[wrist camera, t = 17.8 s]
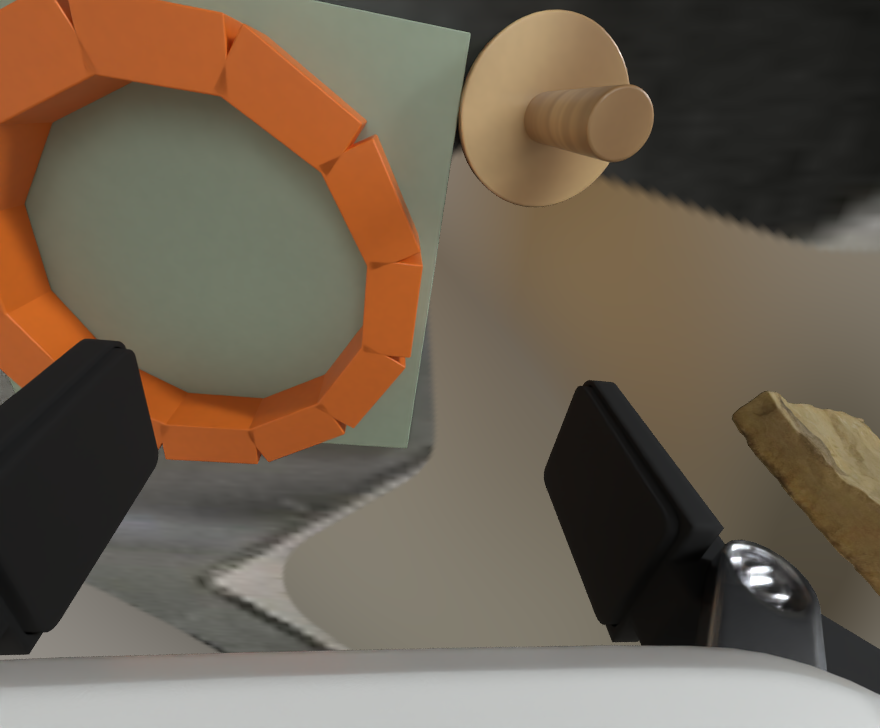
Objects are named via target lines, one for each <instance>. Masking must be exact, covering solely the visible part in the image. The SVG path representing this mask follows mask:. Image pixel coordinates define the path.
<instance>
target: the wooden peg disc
mask: <svg viewBox="0 0 880 728" xmlns="http://www.w3.org/2000/svg"><path fill="white" fill-rule="evenodd" d="M653 120H654V111H653V105H652V102H651V100H650V98H649V96H648V95H647V93H646V92H645V91H644V90H642V89H641V88H640V87H637V86H635V85H630V84H629V79H628V73H627V69H626V66H625V63H624V60H623V57H622V55H621V53H620V51H619V49H618V47H617V45H616V44H615V42H614V41H613V39H612V38H611V36H610V35H609V34H608V33H607V32H606V31H605V30H604V29H603V28H602V27H601V26H600V25H598V24H597V23H596V22H595V21H593V20H592V19H590V18H588V17H586V16H584V15H582V14H579V13H575V12H572V11H567V10H545V11H540V12H535V13H532V14H530V15H527V16H524V17H522V18H520V19H518V20H517V21H515V22H513V23H511V24H510V25H509V26H507V27H506V28H504V29H503V30H502V31H500V32H499V33H498V34H497V35H495V36H494V37H493V38H492V39H491V40H490V41H489V42H488V43H487V44H486V45H485V47H484V48H483V49H482V51H481V52H480V53H479V54H478V56H477V58H476V59H475V61H474V63H473V64H472V66H471V68H470V70H469V72H468V74H467V77H466V79H465V82H464V85H463V88H462V93H461V100H460V107H459V113H458V130H459V138H460V142H461V146H462V150H463V153H464V155H465V158H466V161H467V163H468V164H469V166H470V168H471V170H472V171H473V173H474V174H475V175H476V177H477V178H478V179H479V180H480V181H481V182H482V184H483V185H484V186H486V188H488V189H489V190H490V191H491V192H492V193H494V194H496V196H498V197H500V198H502V199H503V200H505V201H508V202H510V203H513V204H516V205H520V206H526V207H544V206H549V205H554V204H557V203H560V202H563V201H565V200H568V199H570V198H572V197H574V196H575V195H577V194H578V193H580V192H582V191H583V190H584V189H585V188H587V187H588V186H589V185H590V184H592V183H593V182H594V181H595V180H596V179H597V178H598V177H599V176H600V175H601V173H602V172H603V171H604V170H605V168H606V167H607V166H608V164H609V163H610V162H619V161H623V160H625V159H627V158H629V157H631V156H632V155H634V154H635V153H636V152H637V151H638V150H639V149H640V148H641V147H642V146H643V145H644V143H645V142H646V140H647V139H648V137H649V135H650V132H651V129H652V126H653Z"/></svg>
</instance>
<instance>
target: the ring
mask: <svg viewBox="0 0 880 728" xmlns="http://www.w3.org/2000/svg"><path fill="white" fill-rule="evenodd" d="M131 82H137V83H143V84H148V85H154V86H160V87H166V88H172V89H178V90H184V91H190V92H196V93H202V94H208V95H214V96H220V97H222V98H223V99H224V100H226V101H227V102H228V103H230V104H231V105H232V106H234V107H235V108H236V109H237V110H239V111H240V112H241V113H243V114H244V115H245V116H247V117H248V118H249V119H251V120H252V121H253V122H255V123H256V124H257V125H259V126H260V127H261V128H262V129H264V130H265V131H266V132H268V133H269V134H270V135H272V136H273V137H274V138H276V139H277V140H278V141H280V142H281V143H282V144H284V145H285V146H286V147H287V148H289V149H290V150H291V151H293V152H294V153H295V154H297V155H298V156H299V157H301V158H302V159H303V160H305V161H306V162H307V163H309V164H310V165H311V166H312V167H314V168H315V169H316V170H318V171H319V172H320V173H321V174H322V176H323V178H324V180H325V182H326V184H327V186H328V188H329V190H330V192H331V194H332V196H333V198H334V200H335V202H336V204H337V206H338V208H339V211H340V213H341V215H342V217H343V219H344V221H345V223H346V225H347V227H348V229H349V231H350V233H351V235H352V237H353V239H354V241H355V243H356V245H357V247H358V249H359V251H360V253H361V255H362V257H363V259H364V261H365V263H366V265H367V272H366V286H365V300H364V314H363V326H362V327H361V328H360V330H359V331H358V332H357V333H356V335H355V336H354V337H353V339H352V340H351V341H350V343H349V344H348V345H347V346H346V348H345V349H344V350H343V352H342V353H341V354H340V356H339V357H338V358H337V359H336V361H335V362H334V363H333V365H332V366H331V367H330V369H329V370H328V371H327V372H326V374H325V375H322V376H320V377H317V378H315V379H312V380H310V381H307V382H304V383H302V384H299V385H297V386H294V387H292V388H289V389H286V390H284V391H281V392H279V393H276V394H274V395H271V396H268V397H266V398H252V397H239V396H225V395H212V394H198V393H188V392H186V391H184V390H181V389H179V388H177V387H175V386H173V385H171V384H169V383H167V382H165V381H163V380H161V379H159V378H157V377H155V376H152V375H150V374H148V373H146V372H144V371H142V370H140V369H139V372H140V376H141V381H142V385H143V389H144V393H145V397H146V401H147V406H148V410H149V414H150V418H151V422H152V426H153V431H154V435H155V439H156V443H157V447H158V450H159V449H160V447H161V446H162V444H163V448H164V453H165V457H166V459H170V460H189V461H208V462H227V463H246V464H258V462H259V459H260V457H261V454H262V455H263V456H264V457H265V459H266V460H267V461H268V462H271V461H273V460H276V459H279V458H281V457H284V456H287V455H290V454H292V453H295V452H298V451H300V450H303V449H306V448H309V447H311V446H314V445H317V444H319V443H322V442H325V441H328V440H330V439H333V438H336V437H338V436H341V435H344V434H345V430H346V425H348V426H350V427H351V428H355V426H356V425H357V424H358V423H359V422H360V421H361V419H362V418H363V417H364V416H365V415H366V414H367V412H368V411H369V410H370V409H371V408H372V407H373V405H374V404H375V403H376V402H377V401H378V400H379V398H380V397H381V396H382V395H383V394H384V393H385V391H386V390H387V389H388V388H389V387H390V386H391V384H392V383H393V382H394V381H395V380H396V379H397V377H398V376H399V375H400V374H401V373H402V372H403V370H404V369H405V368H406V363H405V357H406V358H410V357H411V351H412V343H413V336H414V329H415V321H416V314H417V307H418V299H419V292H420V285H421V277H422V270H423V264H422V257H421V249H420V243H419V236H418V232H417V230H416V227H415V225H414V223H413V220H412V218H411V215H410V213H409V211H408V208H407V206H406V203H405V201H404V198H403V196H402V194H401V191H400V189H399V186H398V184H397V182H396V179H395V177H394V174H393V172H392V169H391V167H390V165H389V162H388V160H387V157H386V155H385V153H384V150H383V148H382V145H381V143H380V140H379V138H378V136H377V135H376V134H374V135H372V136H370V137H368V138H366V139H363V140H361V141H359V142H357V143H355V144H354V142H355V141H356V139H357V137H358V136H359V134H360V133H361V131H362V129H363V128H364V126H365V125H366V123H367V120H366V119H365V118H363V117H362V116H361V115H360V114H359V113H358V112H356V111H355V110H354V109H353V108H352V107H350V106H349V105H348V104H347V103H346V102H345V101H343V100H342V99H341V98H340V97H339V96H338V95H336V94H335V93H334V92H333V91H332V90H330V89H329V88H328V87H327V86H326V85H325V84H323V83H322V82H321V81H320V80H319V79H318V78H316V77H315V76H314V75H313V74H312V73H310V72H309V71H308V70H307V69H306V68H305V67H303V66H302V65H301V64H300V63H299V62H298V61H296V60H295V59H294V58H293V57H292V56H290V55H289V54H288V53H287V52H286V51H285V50H283V49H282V48H281V47H280V46H279V45H277V44H276V43H275V42H274V41H273V40H272V39H270V38H269V37H268V36H267V35H265V34H263V33H261V32H259V31H258V30H256V29H254V28H252V27H250V26H248V25H246V24H244V23H241V22H240V21H238V20H236V19H234V18H232V17H230V16H228V15H226V14H224V13H222V12H218V11H213V10H207V9H202V8H197V7H192V6H187V5H182V4H177V3H172V2H166V1H161V0H16V1H14V2H12V3H10V4H9V5H7V6H5V7H3V8H1V9H0V369H1V370H2V371H3V372H4V373H5V374H7V375H8V376H9V377H10V378H11V379H12V380H13V381H14V382H15V383H17V384H18V385H19V386H20V387H21V388H23V387H24V386H25V385H26V384H28V383H29V382H30V381H31V380H32V379H34V378H35V377H36V376H37V375H39V374H40V373H41V372H42V371H44V370H45V369H46V368H47V367H48V366H50V365H51V364H52V363H53V362H55V361H56V360H57V359H58V358H60V357H61V356H62V355H63V354H64V353H66V352H67V351H68V350H69V349H71V348H72V347H73V346H74V345H76V344H77V343H78V342H79V341H81V340H83V339H96V338H95V337H94V335H93V334H92V333H91V332H90V331H89V330H88V329H87V328H86V327H85V326H84V325H83V324H82V323H81V321H80V320H79V319H78V318H77V317H76V316H75V315H74V314H73V313H72V312H71V311H70V310H69V309H68V307H67V306H66V305H65V304H64V303H63V302H62V301H61V300H60V299H59V298H58V297H57V296H56V295H55V293H54V292H53V291H52V290H51V288H50V285H49V282H48V278H47V275H46V272H45V269H44V265H43V262H42V259H41V256H40V252H39V249H38V246H37V243H36V239H35V236H34V233H33V230H32V226H31V223H30V220H29V217H28V213H27V210H26V207H25V201H26V198H27V195H28V192H29V189H30V186H31V184H32V181H33V178H34V175H35V172H36V169H37V166H38V163H39V160H40V157H41V155H42V152H43V149H44V146H45V143H46V140H47V137H48V134H49V131H50V129H51V126H52V123H53V122H55V121H57V120H58V119H60V118H62V117H64V116H66V115H68V114H70V113H72V112H74V111H76V110H78V109H80V108H82V107H84V106H86V105H88V104H90V103H92V102H94V101H96V100H98V99H100V98H102V97H104V96H106V95H108V94H110V93H112V92H114V91H116V90H117V89H119V88H121V87H123V86H125V85H127V84H129V83H131Z"/></svg>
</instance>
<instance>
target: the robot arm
mask: <svg viewBox="0 0 880 728" xmlns="http://www.w3.org/2000/svg"><path fill="white" fill-rule="evenodd" d="M157 461H158V447H157V443H156V439H155V435H154V431H153V426H152V422H151V418H150V414H149V410H148V406H147V401H146V397H145V393H144V389H143V385H142V381H141V376H140V372H139V368H138V364H137V360H136V356H135V353H134V352H133V351H132V350H130V349H126V347H125V345H124V344H123V343H122V342H120V341H113V340H101V339H83V340H81V341H79V342H78V343H77V344H76V345H74V346H73V347H72V348H71V349H69V350H68V351H67V352H66V353H64V354H63V355H62V356H61V357H60V358H58V359H57V360H56V361H55V362H53V363H52V364H51V365H50V366H48V367H47V368H46V369H45V370H44V371H42V372H41V373H40V374H39V375H37V376H36V377H35V378H34V379H32V380H31V381H30V382H29V383H28V384H26V385H25V386H24V387H23V388H21V389H20V390H19V391H18V392H16V393H15V394H14V395H13V396H12V397H10V398H9V399H8V400H7V401H5V402H4V403H3V404H2V405H0V655H24V654H29V653H30V652H31V650H32V649H33V647H34V646H35V644H36V642H37V641H38V639H39V638H40V636H41V635H42V633H43V632H49V631H50V630H52V629H53V628H54V627H55V626H56V625H57V624H58V622H59V621H60V619H61V618H62V616H63V615H64V613H65V611H66V610H67V608H68V607H69V605H70V603H71V602H72V600H73V599H74V597H75V595H76V594H77V592H78V591H79V589H80V587H81V586H82V584H83V583H84V581H85V579H86V578H87V576H88V575H89V573H90V571H91V570H92V568H93V567H94V565H95V563H96V562H97V560H98V559H99V557H100V555H101V554H102V552H103V551H104V549H105V547H106V546H107V544H108V543H109V541H110V539H111V538H112V536H113V534H114V533H115V531H116V530H117V528H118V526H119V525H120V523H121V522H122V520H123V518H124V517H125V515H126V514H127V512H128V510H129V509H130V507H131V506H132V504H133V502H134V501H135V499H136V498H137V496H138V494H139V493H140V491H141V490H142V488H143V486H144V485H145V483H146V482H147V480H148V478H149V477H150V475H151V473H152V472H153V470H154V469H155V467H156V464H157ZM544 481H545V485H546V488H547V490H548V493H549V496H550V498H551V501H552V503H553V506H554V509H555V511H556V514H557V516H558V519H559V522H560V524H561V527H562V529H563V532H564V535H565V537H566V540H567V542H568V545H569V547H570V550H571V553H572V555H573V558H574V560H575V563H576V565H577V568H578V571H579V573H580V576H581V579H582V581H583V584H584V586H585V589H586V592H587V594H588V597H589V599H590V602H591V604H592V607H593V610H594V612H595V614H596V617H597V619H598V620H599V621H600V623H601V624H604V625H606V627H607V630H608V632H609V635H610V637H611V640H612V642H638V641H640V643H641V645H642V646H607V645H606V646H605V645H604V646H542V647H480V648H432V649H431V648H430V649H429V648H428V649H381V650H334V651H289V652H246V653H211V654H174V655H173V654H172V655H135V656H98V657H65V658H64V657H60V658H38V659H16V660H0V728H880V649H878V648H877V647H875V646H873V645H871V644H870V643H868V642H867V641H865V640H863V639H862V638H860V637H858V636H857V635H855V634H853V633H852V632H850V631H849V630H847V629H845V628H843V627H842V626H840V625H839V624H837V623H835V622H833V621H832V620H830V619H829V618H827V617H825V616H823V615H822V614H821V612H820V605H819V601H818V599H817V595H816V593H815V591H814V590H813V588H812V587H811V585H810V584H809V582H808V580H807V579H806V578H805V577H804V576H803V575H802V574H801V573H800V572H799V571H798V570H797V568H795V567H794V566H793V565H792V564H790V563H789V562H788V561H787V560H785V559H784V558H783V557H782V556H780V555H778V554H777V553H775V552H773V551H772V550H770V549H768V548H766V547H764V546H761V545H759V544H757V543H754V542H750V541H745V540H734V541H733V540H732V541H730V542H728V543H727V544H724V542H723V541H722V540H721V538H720V537H719V534H720V533H721V531H722V530H723V529H724V528H723V526H722V525H721V524H720V522H719V521H718V520H717V518H716V517H715V516H714V514H713V513H712V512H711V510H710V509H709V508H708V506H707V505H706V504H705V502H704V501H703V500H702V498H701V497H700V496H699V494H698V493H697V492H696V490H695V489H694V488H693V487H692V485H691V484H690V482H689V481H688V480H687V479H686V477H685V476H684V475H683V473H682V472H681V471H680V469H679V468H678V467H677V465H676V464H675V463H674V461H673V460H672V459H671V457H670V456H669V455H668V453H667V452H666V451H665V449H664V448H663V447H662V445H661V444H660V443H659V442H658V440H657V439H656V437H655V436H654V435H653V433H652V432H651V431H650V429H649V428H648V427H647V425H646V424H645V423H644V421H643V420H642V419H641V418H640V416H639V415H638V413H637V412H636V411H635V409H634V408H633V407H632V406H631V404H630V403H629V402H628V400H627V399H626V397H625V396H624V395H623V394H622V392H621V391H620V390H619V388H618V387H617V386H616V385H615V384H614V383H612V382H603V381H592V380H589V381H586V382H585V383H584V385H583V386H579V387H578V388H577V389H576V391H575V393H574V395H573V398H572V401H571V403H570V406H569V408H568V411H567V413H566V416H565V419H564V421H563V424H562V426H561V429H560V432H559V434H558V437H557V439H556V442H555V444H554V447H553V449H552V452H551V454H550V457H549V460H548V462H547V465H546V467H545V471H544Z"/></svg>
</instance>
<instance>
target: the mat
mask: <svg viewBox="0 0 880 728" xmlns="http://www.w3.org/2000/svg"><path fill="white" fill-rule="evenodd" d="M14 1H16V0H0V9H1V8H3V7H5V6H7V5H9V4H10V3H12V2H14ZM161 1H166V2H172V3H177V4H182V5H187V6H192V7H197V8H202V9H207V10H213V11H218V12H222V13H224V14H226V15H228V16H230V17H232V18H234V19H236V20H238V21H240V22H241V23H244V24H246V25H248V26H250V27H252V28H254V29H256V30H258V31H259V32H261V33H263V34H265V35H267V36H268V37H269V38H270V39H272V40H273V41H274V42H275V43H276V44H277V45H279V46H280V47H281V48H282V49H283V50H285V51H286V52H287V53H288V54H289V55H290V56H292V57H293V58H294V59H295V60H296V61H298V62H299V63H300V64H301V65H302V66H303V67H305V68H306V69H307V70H308V71H309V72H310V73H312V74H313V75H314V76H315V77H316V78H318V79H319V80H320V81H321V82H322V83H323V84H325V85H326V86H327V87H328V88H329V89H330V90H332V91H333V92H334V93H335V94H336V95H338V96H339V97H340V98H341V99H342V100H343V101H345V102H346V103H347V104H348V105H349V106H350V107H352V108H353V109H354V110H355V111H356V112H358V113H359V114H360V115H361V116H362V117H363V118H365V119H366V120H367V123H366V125H365V126H364V128H363V129H362V131H361V133H360V134H359V136H358V137H357V139H356V141H355V142H354V144H355V143H357V142H359V141H361V140H363V139H366V138H368V137H370V136H372V135H374V134H376V135H377V136H378V138H379V140H380V143H381V145H382V148H383V150H384V153H385V155H386V157H387V160H388V162H389V165H390V167H391V169H392V172H393V174H394V177H395V179H396V182H397V184H398V186H399V189H400V191H401V194H402V196H403V198H404V201H405V203H406V206H407V208H408V211H409V213H410V215H411V218H412V220H413V223H414V225H415V227H416V230H417V232H418V236H419V243H420V249H421V257H422V264H423V270H422V277H421V285H420V292H419V299H418V307H417V314H416V321H415V329H414V336H413V343H412V351H411V357H410V358H406V357H405V363H406V368H405V369H404V370H403V372H402V373H401V374H400V375H399V376H398V377H397V379H396V380H395V381H394V382H393V383H392V384H391V386H390V387H389V388H388V389H387V390H386V391H385V393H384V394H383V395H382V396H381V397H380V398H379V400H378V401H377V402H376V403H375V404H374V405H373V407H372V408H371V409H370V410H369V411H368V412H367V414H366V415H365V416H364V417H363V418H362V419H361V421H360V422H359V423H358V424H357V425H356V426H355V428H351V427H350V426H348V425H346V430H345V434H344V435H341V436H338V437H336V438H333V439H330V440H328V441H325V442H322V443H329V444H345V445H361V446H377V447H392V448H407V446H408V439H409V433H410V426H411V420H412V413H413V407H414V400H415V394H416V387H417V381H418V374H419V368H420V361H421V355H422V348H423V341H424V335H425V328H426V322H427V315H428V309H429V302H430V296H431V289H432V282H433V276H434V270H435V263H436V257H437V250H438V244H439V236H440V230H441V223H442V217H443V211H444V204H445V198H446V191H447V184H448V178H449V172H450V165H451V159H452V152H453V146H454V139H455V133H456V126H457V120H458V113H459V107H460V100H461V93H462V87H463V80H464V74H465V67H466V61H467V54H468V48H469V41H470V33H468V32H463V31H458V30H454V29H449V28H444V27H439V26H434V25H430V24H425V23H420V22H415V21H411V20H406V19H401V18H396V17H391V16H387V15H382V14H377V13H372V12H368V11H363V10H358V9H353V8H348V7H344V6H339V5H334V4H329V3H324V2H320V1H315V0H161ZM25 207H26V210H27V213H28V217H29V220H30V223H31V226H32V230H33V233H34V236H35V239H36V243H37V246H38V249H39V252H40V256H41V259H42V262H43V265H44V269H45V272H46V275H47V278H48V282H49V285H50V288H51V290H52V291H53V292H54V293H55V295H56V296H57V297H58V298H59V299H60V300H61V301H62V302H63V303H64V304H65V305H66V306H67V307H68V309H69V310H70V311H71V312H72V313H73V314H74V315H75V316H76V317H77V318H78V319H79V320H80V321H81V323H82V324H83V325H84V326H85V327H86V328H87V329H88V330H89V331H90V332H91V333H92V334H93V335H94V337H95V338H96V339H101V340H113V341H120V342H122V343H123V344H124V345H125V347H126V349H130V350H132V351H133V352H134V353H135V356H136V360H137V364H138V368H139V369H140V370H142V371H144V372H146V373H148V374H150V375H152V376H155V377H157V378H159V379H161V380H163V381H165V382H167V383H169V384H171V385H173V386H175V387H177V388H179V389H181V390H184V391H186V392H188V393H198V394H212V395H225V396H239V397H252V398H266V397H268V396H271V395H274V394H276V393H279V392H281V391H284V390H286V389H289V388H292V387H294V386H297V385H299V384H302V383H304V382H307V381H310V380H312V379H315V378H317V377H320V376H322V375H325V374H326V372H327V371H328V370H329V369H330V367H331V366H332V365H333V363H334V362H335V361H336V359H337V358H338V357H339V356H340V354H341V353H342V352H343V350H344V349H345V348H346V346H347V345H348V344H349V343H350V341H351V340H352V339H353V337H354V336H355V335H356V333H357V332H358V331H359V330H360V328H361V327H362V326H363V314H364V300H365V286H366V272H367V265H366V263H365V261H364V259H363V257H362V255H361V253H360V251H359V249H358V247H357V245H356V243H355V241H354V239H353V237H352V235H351V233H350V231H349V229H348V227H347V225H346V223H345V221H344V219H343V217H342V215H341V213H340V211H339V208H338V206H337V204H336V202H335V200H334V198H333V196H332V194H331V192H330V190H329V188H328V186H327V184H326V182H325V180H324V178H323V176H322V174H321V173H320V172H319V171H318V170H316V169H315V168H314V167H312V166H311V165H310V164H309V163H307V162H306V161H305V160H303V159H302V158H301V157H299V156H298V155H297V154H295V153H294V152H293V151H291V150H290V149H289V148H287V147H286V146H285V145H284V144H282V143H281V142H280V141H278V140H277V139H276V138H274V137H273V136H272V135H270V134H269V133H268V132H266V131H265V130H264V129H262V128H261V127H260V126H259V125H257V124H256V123H255V122H253V121H252V120H251V119H249V118H248V117H247V116H245V115H244V114H243V113H241V112H240V111H239V110H237V109H236V108H235V107H234V106H232V105H231V104H230V103H228V102H227V101H226V100H224V99H223V98H222V97H220V96H214V95H208V94H202V93H196V92H190V91H184V90H178V89H172V88H166V87H160V86H154V85H148V84H143V83H137V82H131V83H129V84H127V85H125V86H123V87H121V88H119V89H117V90H116V91H114V92H112V93H110V94H108V95H106V96H104V97H102V98H100V99H98V100H96V101H94V102H92V103H90V104H88V105H86V106H84V107H82V108H80V109H78V110H76V111H74V112H72V113H70V114H68V115H66V116H64V117H62V118H60V119H58V120H57V121H55V122H53V123H52V126H51V129H50V131H49V134H48V137H47V140H46V143H45V146H44V149H43V152H42V155H41V157H40V160H39V163H38V166H37V169H36V172H35V175H34V178H33V181H32V184H31V186H30V189H29V192H28V195H27V198H26V201H25ZM8 377H9V376H8ZM9 379H10V382H11V384H12V387H13V389H14V392H15V393H16V392H18V391H19V390H20V389H21V387H20V386H19V385H18V384H17V383H15V382H14V381H13V380H12V379H11V378H10V377H9Z"/></svg>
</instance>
